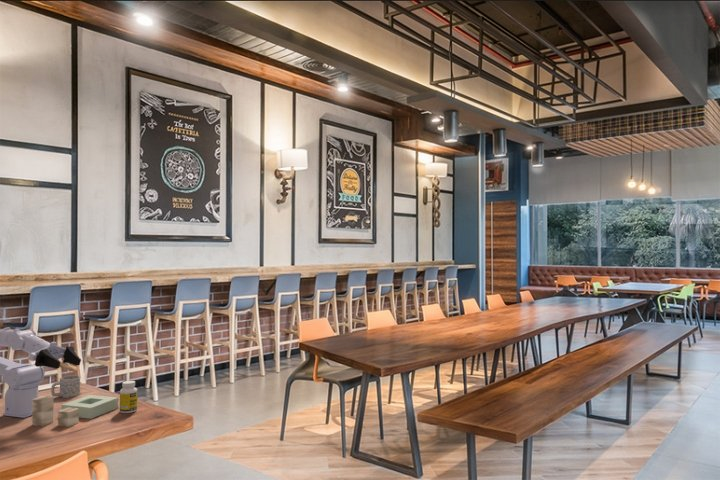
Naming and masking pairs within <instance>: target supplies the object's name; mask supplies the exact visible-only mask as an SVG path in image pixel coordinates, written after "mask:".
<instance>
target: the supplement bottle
mask: <svg viewBox="0 0 720 480" xmlns="http://www.w3.org/2000/svg"><path fill="white" fill-rule="evenodd" d="M121 383H122V385H121V386H122V387H121V389H120V390H119V412H120V413H121V414H131V413H132V414H133V413H135V412H136V411H138V388H137V387H135V386H136V381H135V380H126V381H123V382H121Z"/></svg>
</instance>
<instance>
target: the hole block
mask: <svg viewBox="0 0 720 480" xmlns="http://www.w3.org/2000/svg"><path fill="white" fill-rule="evenodd" d="M68 407H70V408H79V419H80V418H82V419H89V420H91V419H94V418H96V417H99V416H102V415H105V414H106V413H110V412H112V411H113V410H117V409H118V408H119V397H115V396H106V395H95V394H89V395H85V396H82V397H79V398H76V399H74V400H71V401H68V402H65V403H63V404H61V410H63V409H65V408H68Z"/></svg>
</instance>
